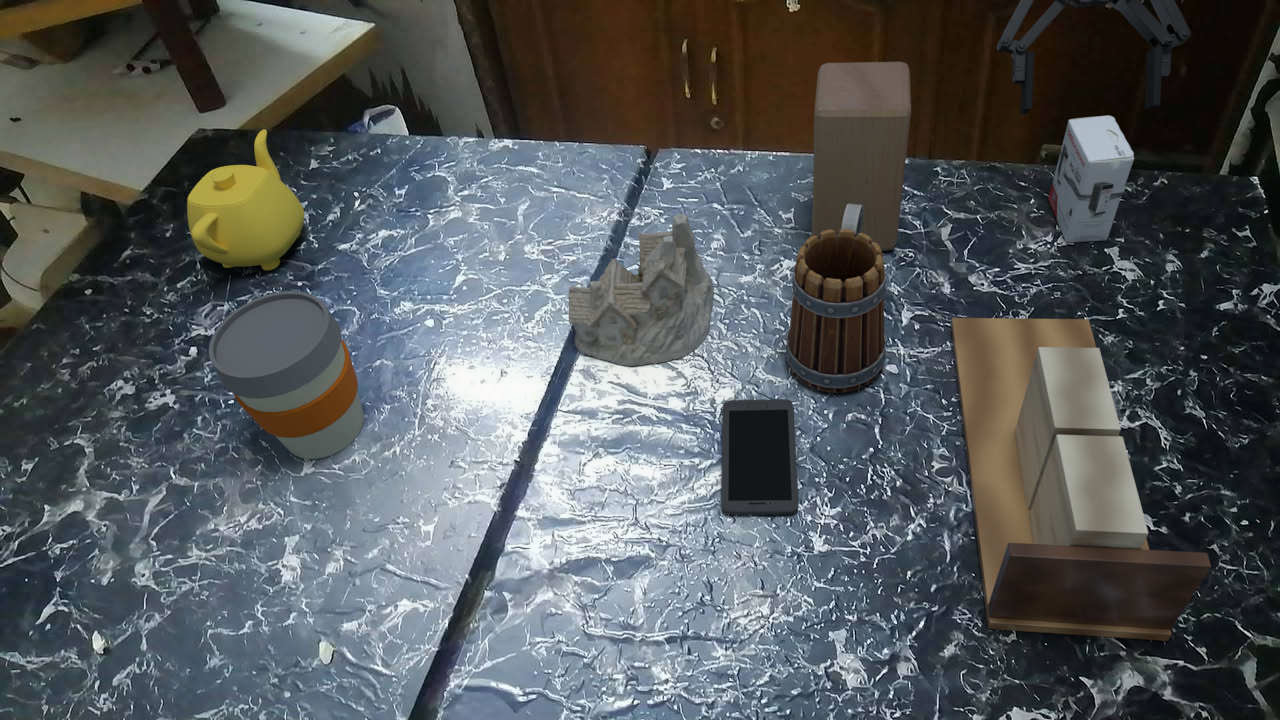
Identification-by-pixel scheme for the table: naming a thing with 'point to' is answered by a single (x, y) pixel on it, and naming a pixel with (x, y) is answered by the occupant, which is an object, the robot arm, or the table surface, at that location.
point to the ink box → (1090, 178)
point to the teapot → (245, 213)
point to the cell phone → (759, 457)
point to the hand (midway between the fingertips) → (1088, 110)
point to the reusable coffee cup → (291, 372)
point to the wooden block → (861, 146)
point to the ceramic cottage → (646, 303)
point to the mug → (838, 309)
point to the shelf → (994, 443)
